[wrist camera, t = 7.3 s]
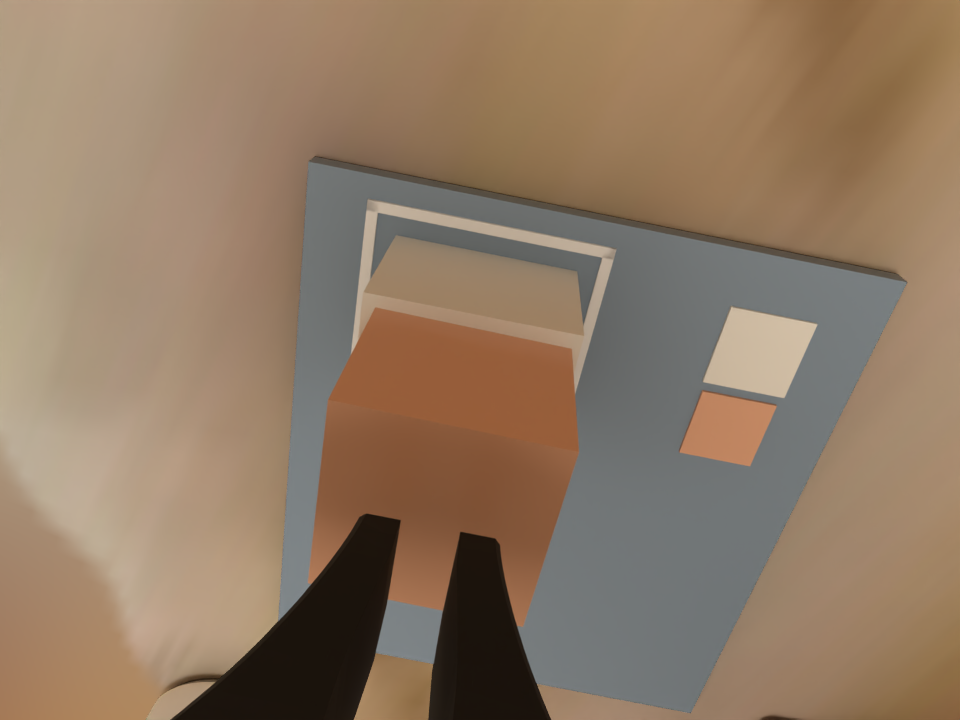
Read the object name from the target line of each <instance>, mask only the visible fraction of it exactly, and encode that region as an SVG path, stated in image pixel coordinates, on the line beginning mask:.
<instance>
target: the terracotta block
mask: <svg viewBox="0 0 960 720" xmlns="http://www.w3.org/2000/svg"><path fill="white" fill-rule="evenodd" d="M578 454H579V443H578V429H577V415H576V401H575V387H574V373H573V359H572V349H570V348H565V347H561V346H556V345H551V344H547V343H542V342H537V341H532V340H528V339H523V338H518V337H513V336H509V335H504V334H499V333H495V332H490V331H485V330H480V329H476V328H471V327H466V326H461V325H457V324H452V323H447V322H443V321H438V320H433V319H428V318H424V317H419V316H414V315H409V314H405V313H400V312H395V311H391V310H386V309H381V308H376V307H375V309H374V311H373V313H372V315H371V317H370V319H369V321H368V322H367V324H366V326H365V328H364V330H363V332H362V334H361V336H360V338H359V340H358V342H357V344H356V346H355V348H354V350H353V352H352V354H351V356H350V358H349V360H348V361H347V363H346V365H345V367H344V369H343V371H342V373H341V375H340V377H339V379H338V381H337V383H336V385H335V387H334V389H333V391H332V393H331V395H330V397H329V399H328V403H327V412H326V421H325V431H324V440H323V449H322V458H321V467H320V476H319V485H318V494H317V504H316V513H315V522H314V531H313V540H312V549H311V558H310V567H309V577H308V583H309V584H312V583H313V581H314V580H315V579H316V578H317V577H318V575H319V574H320V573H321V572H322V571H323V569H324V568H325V567H326V565H327V564H328V563H329V562H330V560H331V559H332V558H333V556H334V555H335V554H336V552H337V551H338V549H339V548H340V547H341V545H342V544H343V542H344V541H345V539H346V538H347V536H348V535H349V533H350V532H351V530H352V529H353V527H354V525H355V524H356V522H357V520H358V518H359V517H360V516H362V515H364V514H366V513H367V514H372V515H378V516H383V517H388V518H393V519H398V520H401V523H400V529H399V535H398V541H397V547H396V553H395V559H394V565H393V571H392V577H391V583H390V589H389V595H388V600H393V601H397V602H402V603H407V604H412V605H417V606H422V607H427V608H432V609H437V610H442V611H443V608H444V604H445V599H446V595H447V590H448V586H449V581H450V576H451V572H452V567H453V563H454V558H455V554H456V549H457V545H458V540H459V536H460V532H465V533H470V534H475V535H480V536H486V537H491V538H495V539H496V540H497V541H498V543H499V544H500V550H501V559H502V565H503V571H504V576H505V581H506V586H507V590H508V594H509V598H510V603H511V606H512V610H513V614H514V617H515V621H516V624H517V626H521V627H523V625H524V622H525V619H526V616H527V613H528V610H529V607H530V604H531V601H532V597H533V594H534V591H535V588H536V585H537V582H538V579H539V576H540V572H541V569H542V566H543V563H544V560H545V557H546V554H547V551H548V548H549V544H550V541H551V538H552V535H553V532H554V529H555V526H556V523H557V520H558V516H559V513H560V510H561V507H562V504H563V501H564V498H565V495H566V492H567V488H568V485H569V482H570V479H571V476H572V473H573V470H574V467H575V464H576V460H577V457H578Z"/></svg>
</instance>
